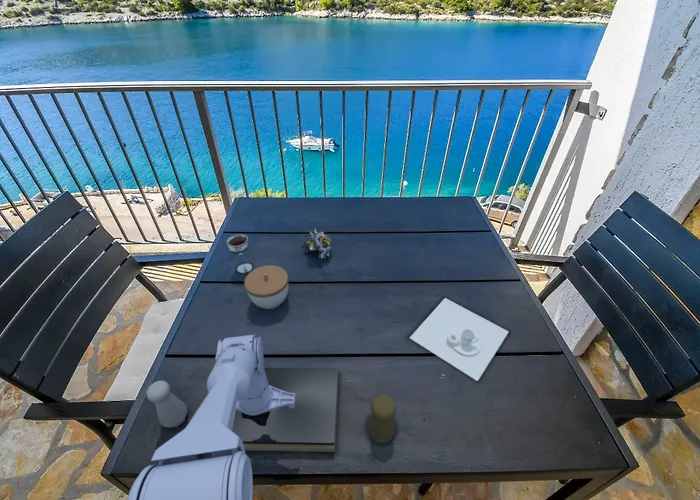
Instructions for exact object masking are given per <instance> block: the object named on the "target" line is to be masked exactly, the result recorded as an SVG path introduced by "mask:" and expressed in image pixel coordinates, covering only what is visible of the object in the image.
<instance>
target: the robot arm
mask: <svg viewBox="0 0 700 500" xmlns="http://www.w3.org/2000/svg"><path fill="white" fill-rule="evenodd" d="M264 368H265V357H264V345H263V341H262V338H261V336H258V337H257V336H256V334H246V335H239V336H238V335H237V336H231V337H225V338H220V339H219V340H218V342H217V347H216V353H215V364H214V366H213V368H212V370H211V372H210V373H209V376H208V377H207V381H206V389H207V392H208V393H207V395H206V396H205V398H204V399H203V400H202V402H201V403H200V405H199V407H198V408H197V410H196V411H195V412H194V414H193V416H192V417H191V419H190V421H189V422H188V424H187V425H186V426H185V428H183V430H181V431H180V432H178V433H177V434H175V435H173V437H172V438H170V439H169V440H167V441H166V442H164V443H163V444H162V445H159V447H158V448H157V449H156V450H154V453H153V455H152V457H151V460H150V462H154V461H158V463H157V464H156V463H154V464H150V465H147V466H146V467H144V468H143V469H142V470H141V471H140V473H139V474H138V476H137V477H136V478H135V480H134V482H133V484H132V485H131V487H130V489H129V492H128V496H127V500H253V493H254V492H253V491H254V484H253V483H254V481H253V467H252V462H251V459H250V457H249V456H248V455H247V454H246V450H245V449H244V445H243V442H242V440H241V439H240V437H239V436H237V435H236V434H235V433H234V432H232V429H233V424H234V418H235V413H236V410H238V411H240V412H242V413H241V415H242V418H244V419H250V420H252V421H254V422H255V423H256V424H258V425H259V426H266V424H267V419H268V417H269V415H270V411H271V410H274V409H277V408H280V407H284V406H289V408H295V402H296V396H295V393H288V392H285V391H283V390H280V389H277V388H275V387H272V386H270V385H269V384H268V380H267V377H266V373H265V370H264Z"/></svg>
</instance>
